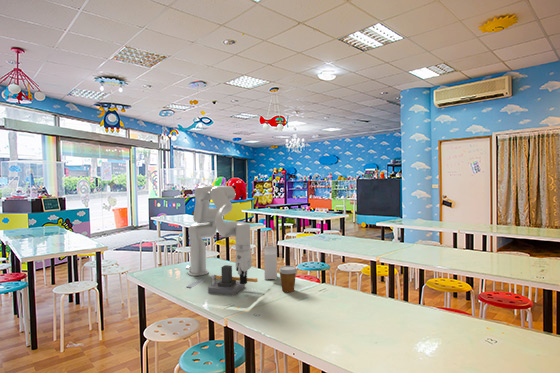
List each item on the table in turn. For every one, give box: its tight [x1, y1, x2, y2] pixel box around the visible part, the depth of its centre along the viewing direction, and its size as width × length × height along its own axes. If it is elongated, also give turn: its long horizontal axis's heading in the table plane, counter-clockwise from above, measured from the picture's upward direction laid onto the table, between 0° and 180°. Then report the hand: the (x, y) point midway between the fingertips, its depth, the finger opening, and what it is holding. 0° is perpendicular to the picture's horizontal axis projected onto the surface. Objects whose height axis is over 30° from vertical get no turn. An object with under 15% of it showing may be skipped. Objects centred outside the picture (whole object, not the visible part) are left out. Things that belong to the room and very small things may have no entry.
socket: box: [207, 278, 246, 296], centre depth 169 cm, size 17×14×6 cm
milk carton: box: [263, 245, 278, 281], centre depth 193 cm, size 7×7×19 cm
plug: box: [218, 264, 237, 287], centre depth 169 cm, size 7×7×12 cm
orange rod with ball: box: [211, 274, 258, 283], centre depth 171 cm, size 26×3×2 cm, turn 73°
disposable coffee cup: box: [278, 265, 298, 293], centre depth 170 cm, size 10×10×12 cm
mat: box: [186, 278, 206, 289], centre depth 182 cm, size 14×14×1 cm
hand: (243, 283), depth 164 cm, fingers closed
